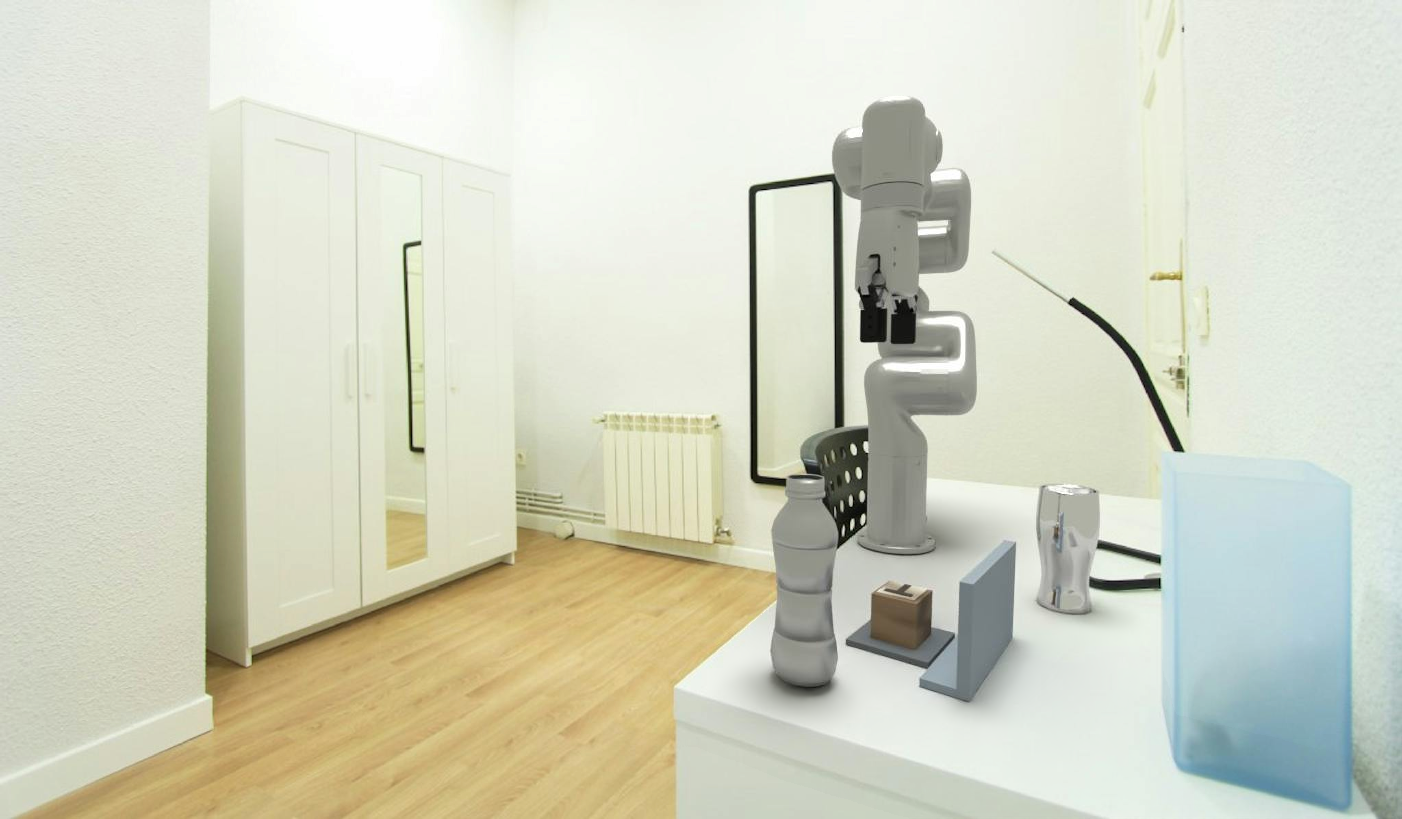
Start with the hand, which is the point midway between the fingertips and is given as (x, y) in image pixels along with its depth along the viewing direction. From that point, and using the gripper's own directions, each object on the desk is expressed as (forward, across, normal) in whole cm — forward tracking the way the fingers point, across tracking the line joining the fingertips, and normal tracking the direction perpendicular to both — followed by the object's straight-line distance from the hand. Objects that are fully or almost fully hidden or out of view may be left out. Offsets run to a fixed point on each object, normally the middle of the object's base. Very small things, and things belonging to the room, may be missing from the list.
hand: (888, 343), depth 81 cm
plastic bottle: (+34, +25, +2) cm, 42 cm away
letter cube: (+33, +11, +6) cm, 35 cm away
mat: (+33, +11, +6) cm, 36 cm away
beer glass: (+34, -12, +19) cm, 40 cm away
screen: (+33, +11, +14) cm, 38 cm away
